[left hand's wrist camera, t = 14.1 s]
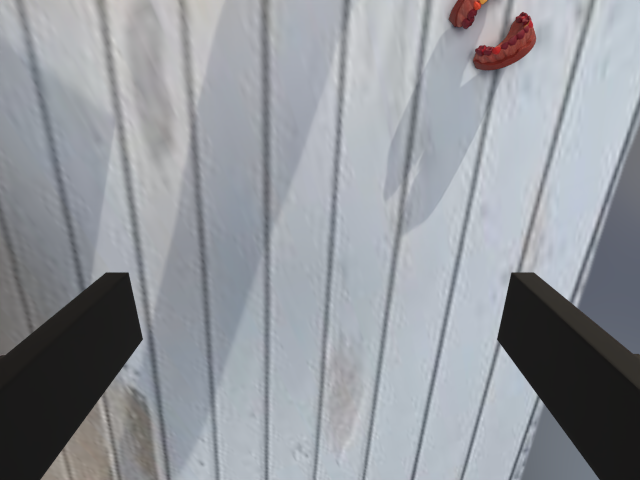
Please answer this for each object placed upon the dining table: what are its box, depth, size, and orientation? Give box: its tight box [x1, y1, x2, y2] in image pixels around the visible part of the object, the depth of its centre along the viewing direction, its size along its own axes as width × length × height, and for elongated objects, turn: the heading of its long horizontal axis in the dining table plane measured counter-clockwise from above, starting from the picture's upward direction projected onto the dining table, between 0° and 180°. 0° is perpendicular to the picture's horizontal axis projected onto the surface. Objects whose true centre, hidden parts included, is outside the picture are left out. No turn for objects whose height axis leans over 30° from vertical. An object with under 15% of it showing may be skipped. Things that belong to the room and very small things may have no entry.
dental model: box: [449, 0, 536, 70], centre depth 34 cm, size 6×4×8 cm
